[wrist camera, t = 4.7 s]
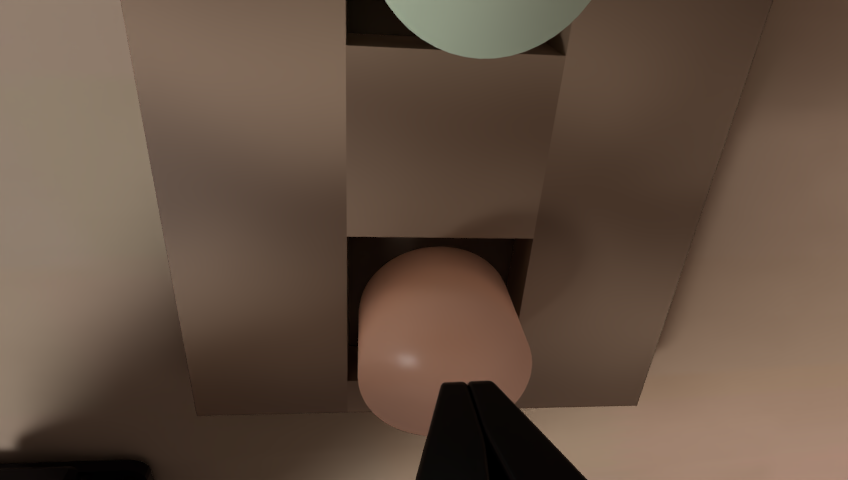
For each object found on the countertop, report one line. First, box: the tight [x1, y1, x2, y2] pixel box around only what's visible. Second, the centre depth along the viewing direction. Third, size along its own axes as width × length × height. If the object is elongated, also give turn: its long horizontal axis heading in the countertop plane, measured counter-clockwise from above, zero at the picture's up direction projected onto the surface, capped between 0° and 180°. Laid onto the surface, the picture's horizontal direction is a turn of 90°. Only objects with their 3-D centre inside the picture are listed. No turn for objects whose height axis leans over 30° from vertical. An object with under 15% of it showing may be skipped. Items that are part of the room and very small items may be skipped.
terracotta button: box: [358, 246, 532, 436], centre depth 14 cm, size 4×4×2 cm
